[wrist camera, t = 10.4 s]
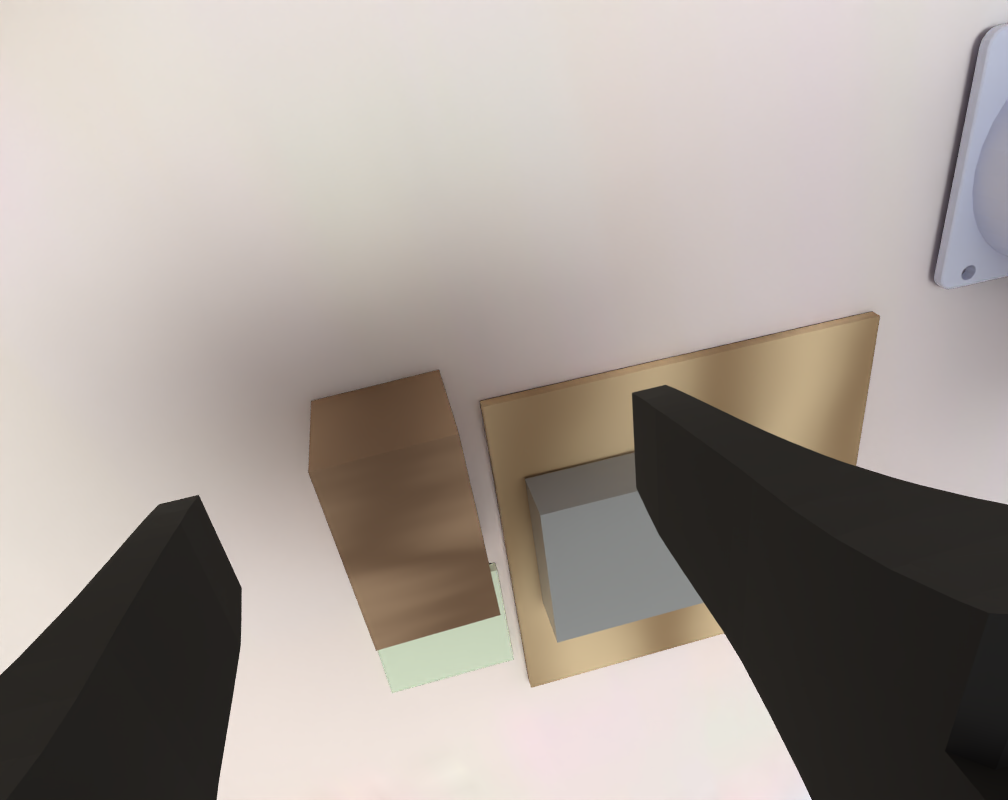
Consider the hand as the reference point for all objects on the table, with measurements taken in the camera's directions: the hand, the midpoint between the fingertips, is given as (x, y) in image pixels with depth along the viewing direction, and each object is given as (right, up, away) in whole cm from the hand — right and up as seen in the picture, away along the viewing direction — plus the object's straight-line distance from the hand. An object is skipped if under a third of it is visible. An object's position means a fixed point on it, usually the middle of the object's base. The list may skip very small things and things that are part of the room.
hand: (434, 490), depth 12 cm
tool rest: (-1, -7, +15) cm, 17 cm away
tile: (+6, -1, +12) cm, 13 cm away
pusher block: (-1, -5, +12) cm, 13 cm away
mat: (+8, -3, +15) cm, 18 cm away
